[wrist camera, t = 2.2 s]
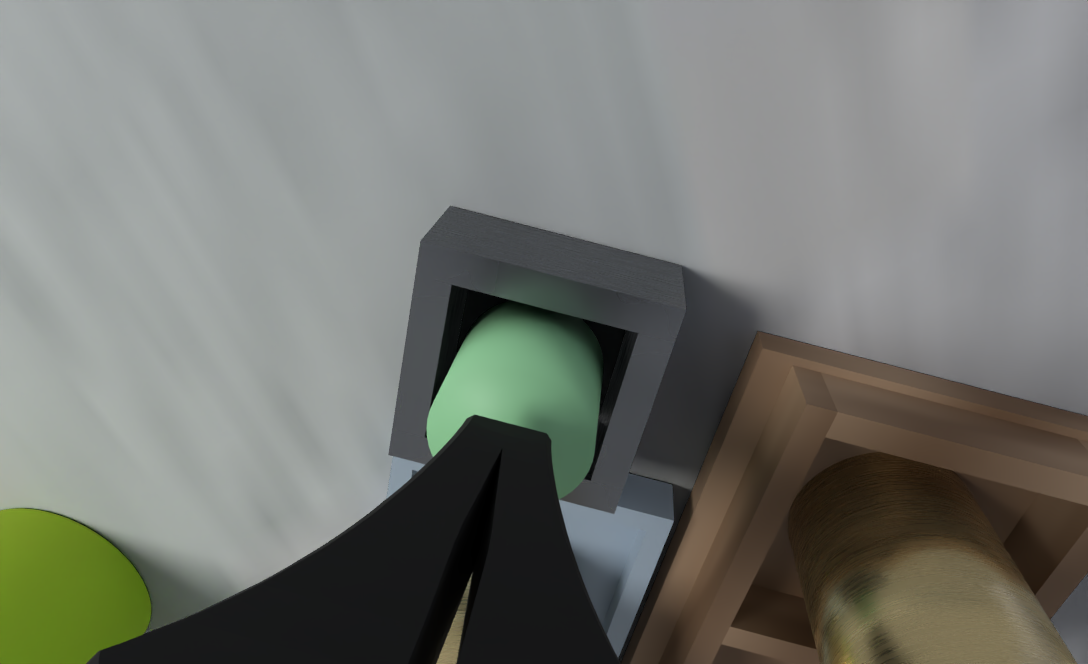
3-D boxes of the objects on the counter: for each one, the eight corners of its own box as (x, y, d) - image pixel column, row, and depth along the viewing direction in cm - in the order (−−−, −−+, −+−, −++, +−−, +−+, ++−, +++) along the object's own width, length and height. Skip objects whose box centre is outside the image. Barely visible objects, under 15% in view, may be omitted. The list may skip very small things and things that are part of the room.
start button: (620, 320, 14) (615, 392, 12) (583, 438, 16) (572, 525, 13) (475, 282, 14) (440, 347, 12) (452, 403, 16) (415, 484, 13)
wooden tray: (1122, 425, 15) (1194, 494, 13) (864, 775, 21) (887, 860, 19) (757, 331, 15) (774, 385, 13) (603, 706, 21) (598, 783, 19)
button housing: (681, 265, 15) (686, 309, 13) (617, 452, 17) (614, 514, 15) (450, 206, 15) (420, 241, 13) (417, 400, 17) (388, 455, 15)
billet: (1011, 478, 15) (1234, 790, 10) (924, 606, 17) (1067, 934, 11) (828, 431, 15) (938, 711, 10) (762, 564, 17) (820, 868, 11)
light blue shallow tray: (672, 484, 18) (673, 520, 16) (591, 691, 21) (587, 732, 20) (410, 416, 18) (394, 447, 16) (375, 633, 21) (359, 671, 20)
